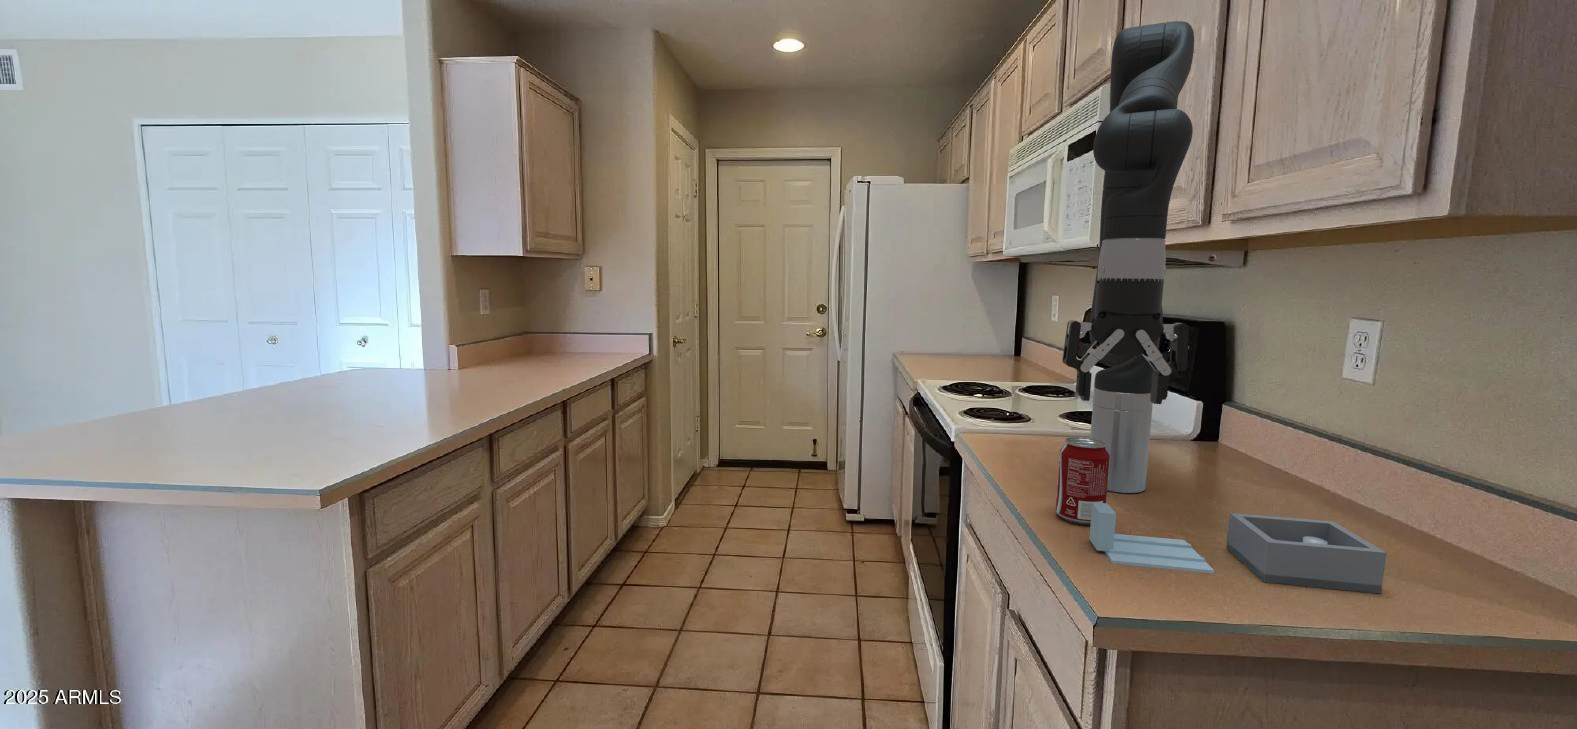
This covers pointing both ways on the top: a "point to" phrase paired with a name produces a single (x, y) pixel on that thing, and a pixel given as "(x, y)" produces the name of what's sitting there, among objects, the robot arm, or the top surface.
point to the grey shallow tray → (1305, 553)
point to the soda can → (1081, 478)
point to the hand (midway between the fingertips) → (1119, 401)
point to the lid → (1141, 546)
